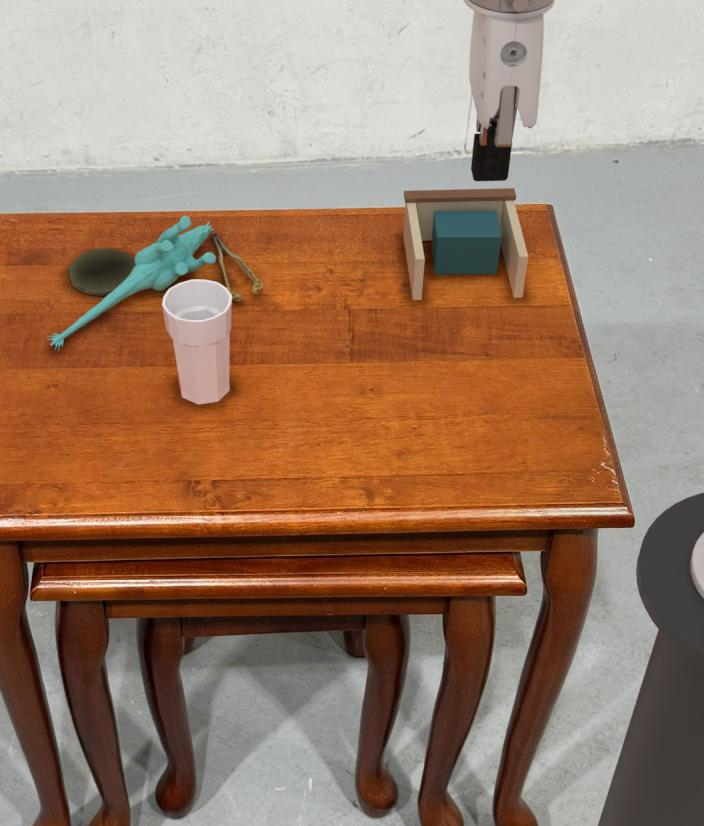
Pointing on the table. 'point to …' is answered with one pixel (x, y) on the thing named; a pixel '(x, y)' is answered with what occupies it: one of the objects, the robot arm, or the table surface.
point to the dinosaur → (153, 269)
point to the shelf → (428, 201)
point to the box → (465, 242)
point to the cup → (200, 337)
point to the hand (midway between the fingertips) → (489, 175)
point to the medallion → (100, 270)
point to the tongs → (239, 261)
